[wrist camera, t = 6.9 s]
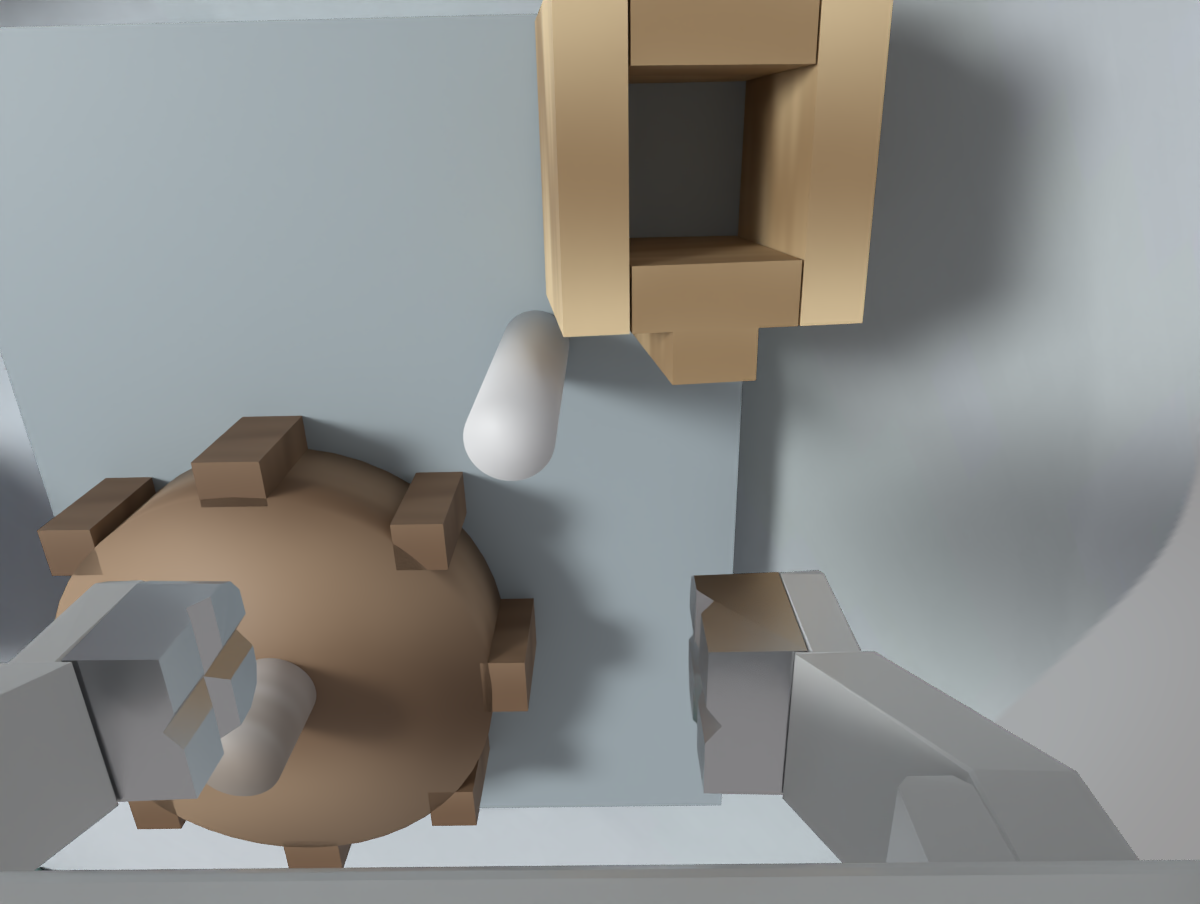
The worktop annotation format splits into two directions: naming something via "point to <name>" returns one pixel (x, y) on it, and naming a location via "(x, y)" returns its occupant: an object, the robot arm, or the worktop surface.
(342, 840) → the walnut gear
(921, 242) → the worktop surface
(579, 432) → the gear board
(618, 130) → the oak gear
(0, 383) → the worktop surface
